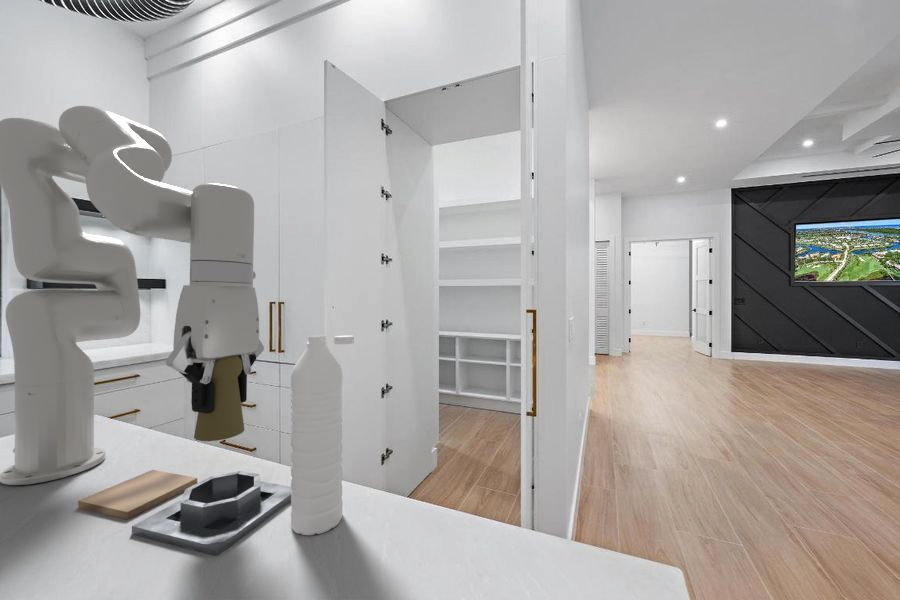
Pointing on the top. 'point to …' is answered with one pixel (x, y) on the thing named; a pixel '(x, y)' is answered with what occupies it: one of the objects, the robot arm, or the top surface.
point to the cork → (223, 403)
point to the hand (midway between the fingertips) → (220, 405)
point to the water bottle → (316, 438)
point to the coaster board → (137, 494)
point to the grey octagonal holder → (216, 512)
